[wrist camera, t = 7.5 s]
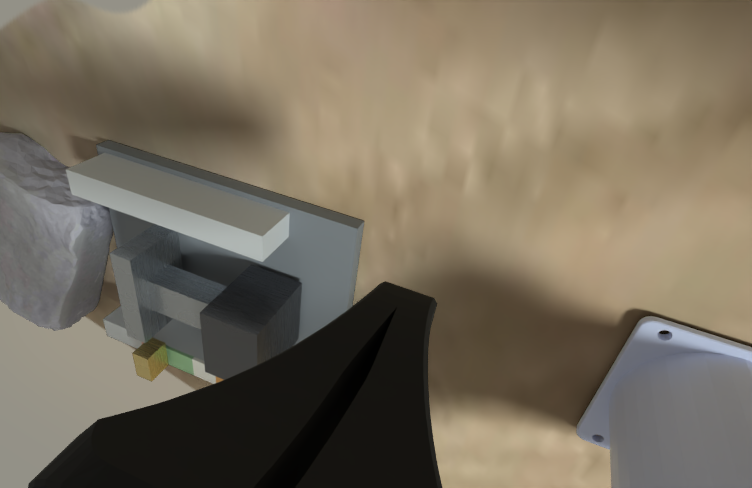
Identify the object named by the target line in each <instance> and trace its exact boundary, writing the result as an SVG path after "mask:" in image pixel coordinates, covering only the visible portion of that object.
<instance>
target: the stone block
mask: <svg viewBox="0 0 752 488" xmlns="http://www.w3.org/2000/svg"><path fill="white" fill-rule="evenodd" d="M68 168H70V167H66V166H65V165H63V164H62V163H60V162H59V161H58V160H57V159H56V158H54V157H53V156H52V155H51V154H50V153H49V152H48V151H47V150H46V149H45V148H44V147H42V146H41V145H39V144H38V143H37V142H35V141H34V140H32V139H31V138H30V137H28V136H26V135H24V134H22V133H4V132H0V300H1V301H2V302H3V303H4V304H6V305H8V307H9V309H11V310H12V311H13V312H14V313H17V314H18V315H20V316H22V317H24V318H25V319H27V320H29V321H31V322H33V323H34V324H36V325H37V326H40V327H44V328H51V329H53V330H54V331H55V330H60V329H65V328H68V327H71V326H72V325H73V324H75V323H76V322H78V321H79V320H80V319H81V317H84V316H86V315H87V314H88V313H90V312H91V311H93V310H94V309H95V308H96V306H97V304H98V302H99V299H100V294H101V290H102V284H103V279H104V274H105V269H106V264H107V259H108V255H109V246H110V241H111V239H112V236H113V225H112V220H111V216H110V211H109V207H106V206H103V205H100V204H97V203H95V202H92V201H89V200H86V199H83V198H80V197H78V196H75V195H72V193H71V189H70V185H69V181H68V177H67V173H66V169H68Z"/></svg>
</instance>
